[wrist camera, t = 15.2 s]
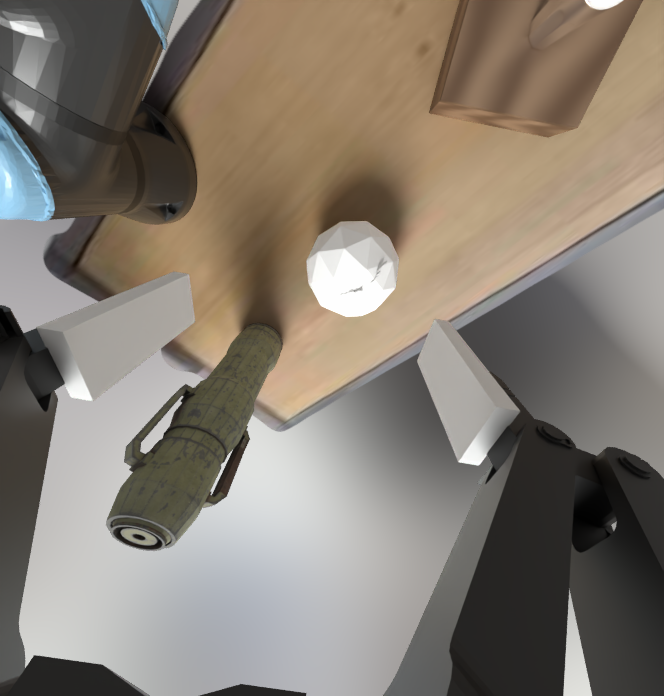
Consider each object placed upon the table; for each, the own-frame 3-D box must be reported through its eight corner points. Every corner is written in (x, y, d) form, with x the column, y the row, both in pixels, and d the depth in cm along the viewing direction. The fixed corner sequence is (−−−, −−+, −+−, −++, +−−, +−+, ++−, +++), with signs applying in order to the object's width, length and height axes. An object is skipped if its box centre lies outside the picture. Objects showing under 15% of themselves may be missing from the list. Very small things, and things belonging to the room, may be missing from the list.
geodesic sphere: (375, 170, 31) (320, 232, 25) (438, 252, 36) (405, 321, 30) (320, 233, 43) (274, 285, 37) (372, 289, 48) (339, 343, 42)
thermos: (270, 371, 56) (175, 573, 25) (226, 336, 52) (52, 525, 22) (297, 348, 52) (223, 551, 22) (252, 308, 48) (87, 490, 18)
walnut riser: (428, 113, 32) (440, 99, 28) (479, -71, 25) (505, -126, 21) (547, 137, 33) (577, 127, 29) (630, -37, 26) (686, -85, 21)
